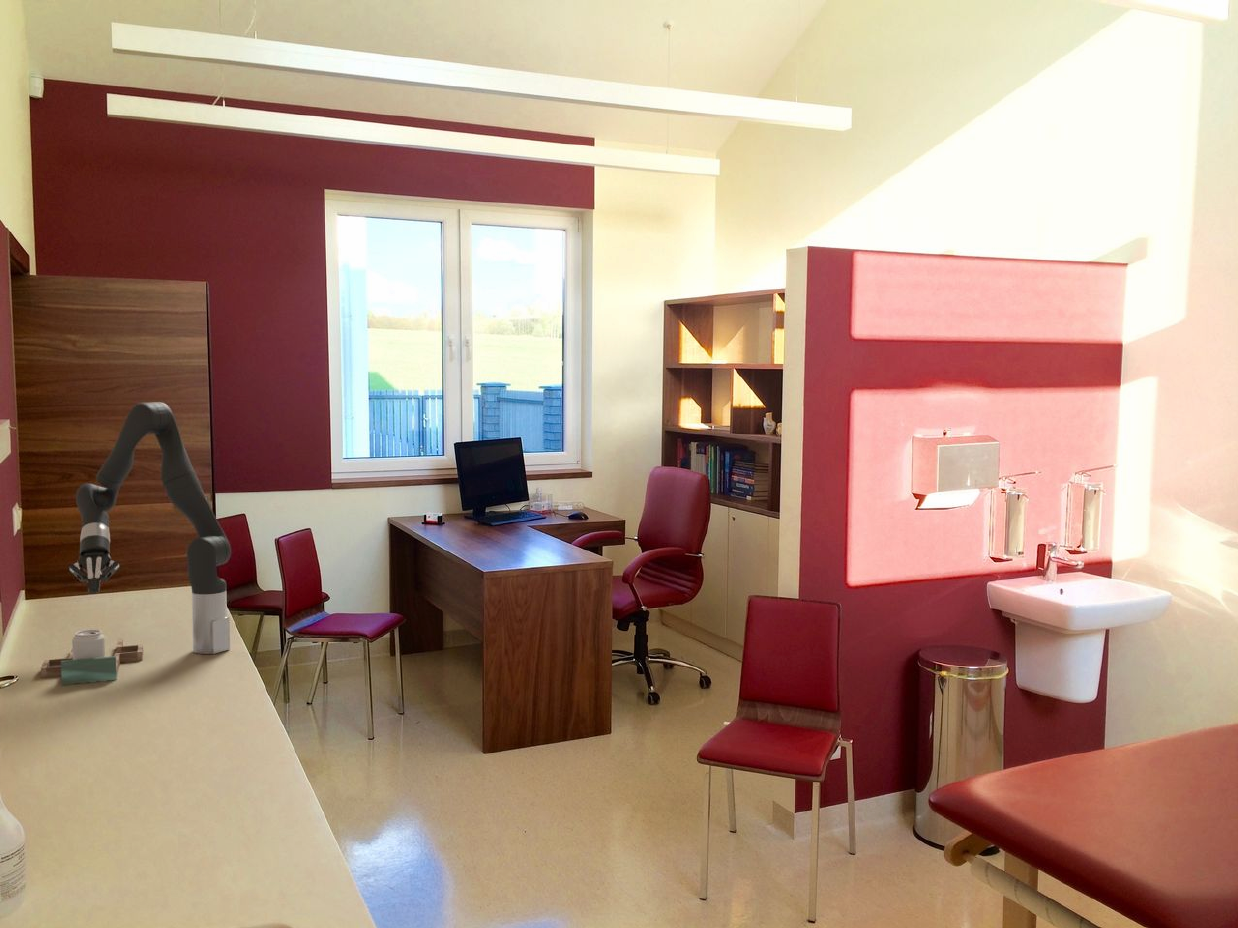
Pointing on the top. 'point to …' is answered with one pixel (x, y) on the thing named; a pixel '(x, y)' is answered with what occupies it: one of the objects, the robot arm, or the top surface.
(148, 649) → the top surface
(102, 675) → the trap channel
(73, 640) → the can
